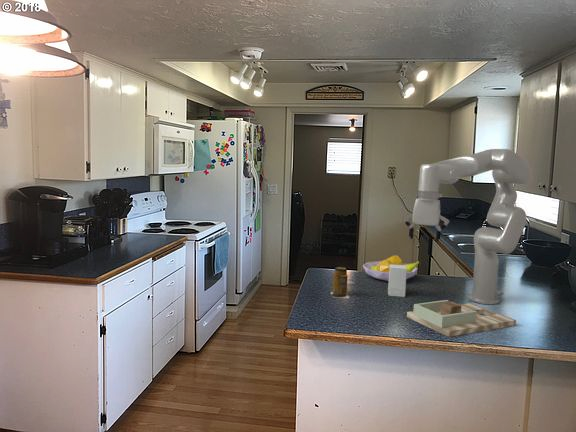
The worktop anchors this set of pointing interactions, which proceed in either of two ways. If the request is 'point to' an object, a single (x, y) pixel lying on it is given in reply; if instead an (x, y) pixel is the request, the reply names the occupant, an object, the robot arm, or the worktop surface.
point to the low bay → (430, 315)
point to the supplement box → (397, 280)
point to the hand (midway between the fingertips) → (424, 239)
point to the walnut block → (450, 308)
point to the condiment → (340, 283)
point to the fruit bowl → (382, 268)
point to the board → (481, 323)
